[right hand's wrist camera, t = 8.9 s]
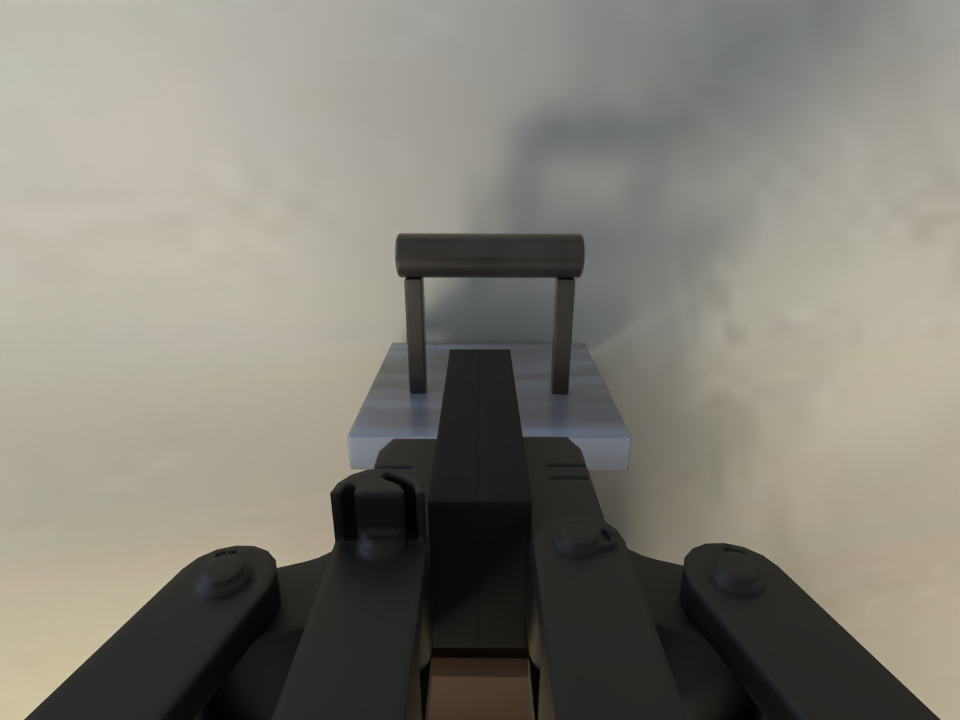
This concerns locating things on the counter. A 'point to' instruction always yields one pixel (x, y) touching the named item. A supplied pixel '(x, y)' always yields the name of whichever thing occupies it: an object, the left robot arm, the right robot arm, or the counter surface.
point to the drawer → (537, 367)
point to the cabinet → (479, 689)
